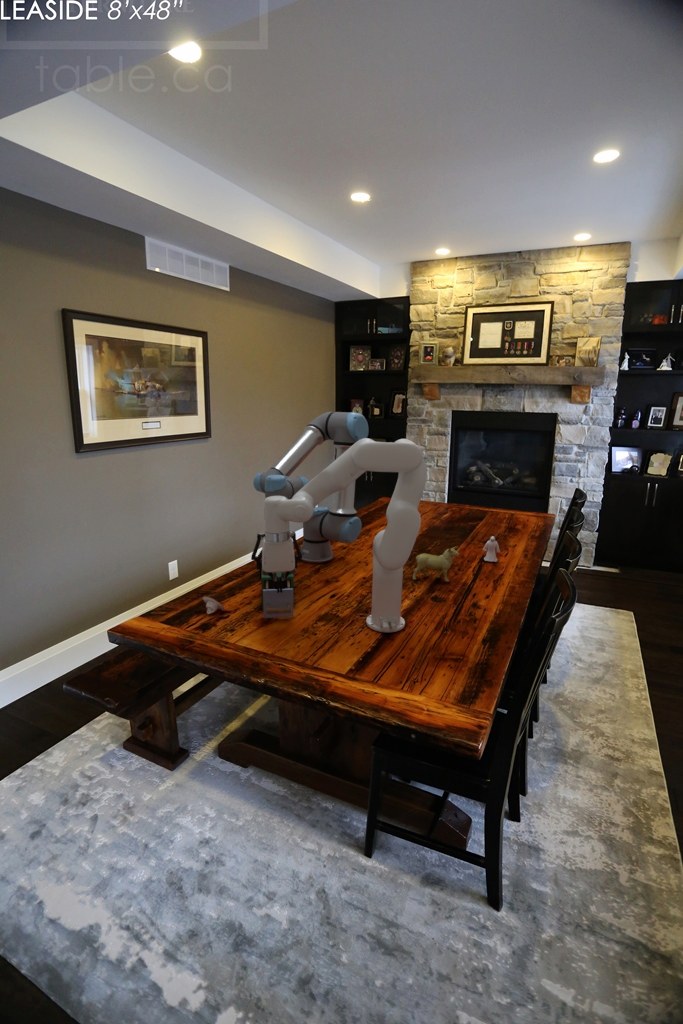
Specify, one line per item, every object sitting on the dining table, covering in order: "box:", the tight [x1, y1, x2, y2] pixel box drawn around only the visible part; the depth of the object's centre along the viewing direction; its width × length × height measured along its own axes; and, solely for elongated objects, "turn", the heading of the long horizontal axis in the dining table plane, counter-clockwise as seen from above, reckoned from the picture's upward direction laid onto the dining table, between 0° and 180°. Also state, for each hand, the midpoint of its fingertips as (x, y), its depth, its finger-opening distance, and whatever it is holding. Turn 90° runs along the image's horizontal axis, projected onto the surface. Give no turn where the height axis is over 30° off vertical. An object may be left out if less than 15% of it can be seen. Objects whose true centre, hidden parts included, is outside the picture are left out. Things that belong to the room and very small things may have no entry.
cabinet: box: [260, 567, 295, 610], centre depth 179 cm, size 16×11×12 cm, turn 8°
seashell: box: [202, 596, 226, 615], centre depth 167 cm, size 8×5×8 cm
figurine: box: [482, 535, 501, 563], centre depth 223 cm, size 8×8×12 cm
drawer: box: [262, 579, 294, 619], centre depth 167 cm, size 21×10×10 cm, turn 8°
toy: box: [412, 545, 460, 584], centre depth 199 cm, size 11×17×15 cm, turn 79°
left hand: (277, 577), depth 183 cm, fingers closed on cabinet, 11 cm apart
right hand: (279, 591), depth 159 cm, fingers closed
